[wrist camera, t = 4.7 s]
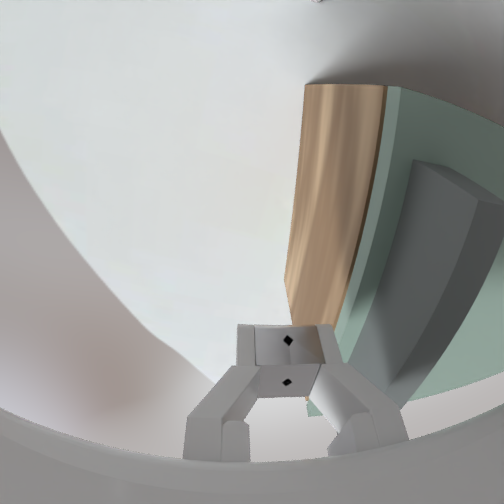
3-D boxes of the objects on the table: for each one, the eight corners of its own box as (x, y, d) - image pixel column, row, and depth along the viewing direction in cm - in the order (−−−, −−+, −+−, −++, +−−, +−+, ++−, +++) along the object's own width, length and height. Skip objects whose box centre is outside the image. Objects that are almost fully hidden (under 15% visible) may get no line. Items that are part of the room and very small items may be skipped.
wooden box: (511, 143, 18) (599, 193, 8) (468, 277, 27) (523, 352, 16) (304, 84, 17) (383, 85, 7) (284, 279, 26) (305, 400, 15)
